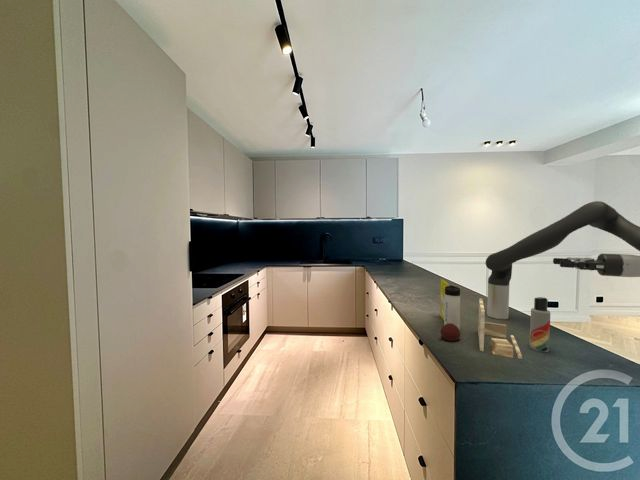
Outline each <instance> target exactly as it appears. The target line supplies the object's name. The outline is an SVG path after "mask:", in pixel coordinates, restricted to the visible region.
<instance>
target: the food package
mask: <svg viewBox="0 0 640 480" xmlns="http://www.w3.org/2000/svg"><path fill="white" fill-rule="evenodd" d="M447 286H450V284H449V283H448V282H447V281H445V280H444V279H442V278H440V302H439V303H440V309H439V315H440V317H441V319H442V321H444V305H445V287H447Z"/></svg>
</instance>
